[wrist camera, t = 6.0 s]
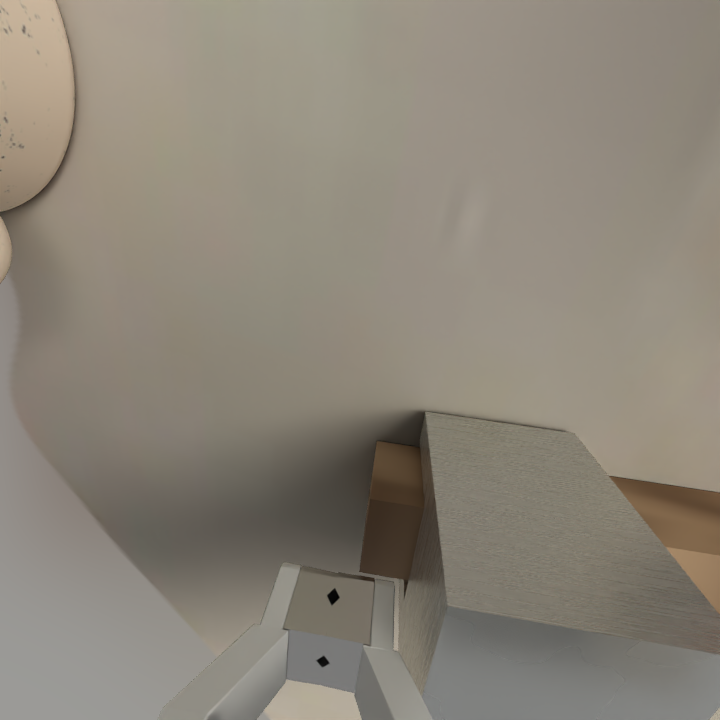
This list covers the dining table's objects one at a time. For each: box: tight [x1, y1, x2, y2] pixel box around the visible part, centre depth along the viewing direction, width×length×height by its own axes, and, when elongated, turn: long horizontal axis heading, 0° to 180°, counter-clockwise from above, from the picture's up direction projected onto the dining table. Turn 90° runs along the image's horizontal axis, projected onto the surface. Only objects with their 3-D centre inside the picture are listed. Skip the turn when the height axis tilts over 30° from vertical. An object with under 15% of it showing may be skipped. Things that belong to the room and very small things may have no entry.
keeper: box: [398, 412, 720, 720], centre depth 10 cm, size 5×6×7 cm
